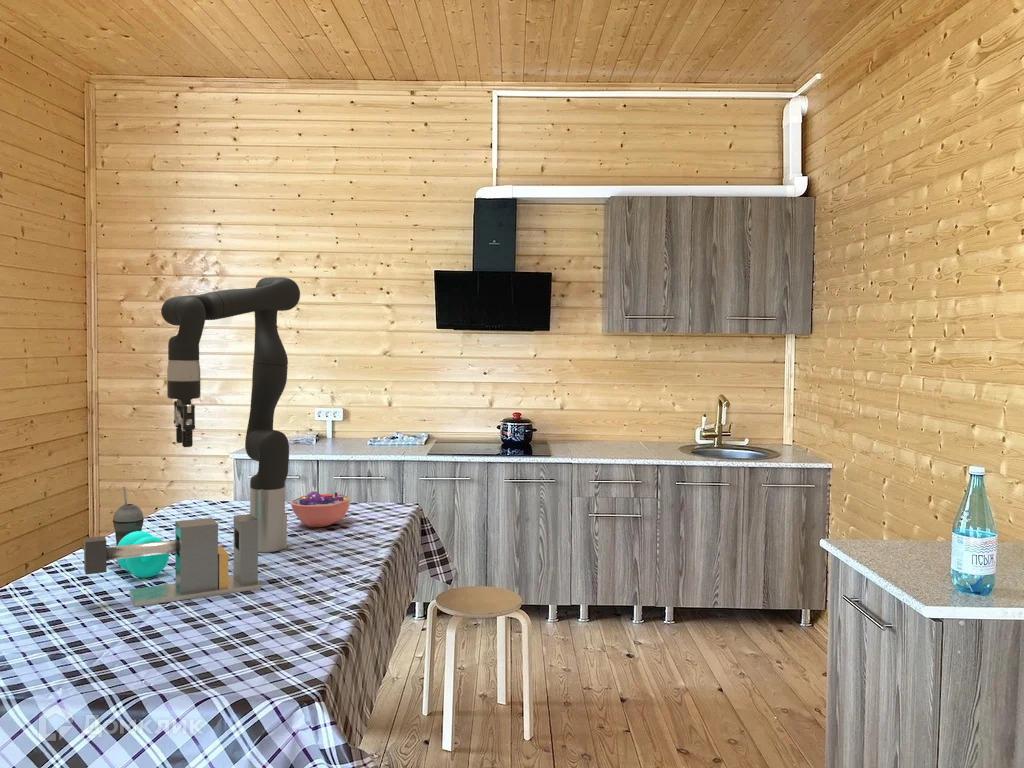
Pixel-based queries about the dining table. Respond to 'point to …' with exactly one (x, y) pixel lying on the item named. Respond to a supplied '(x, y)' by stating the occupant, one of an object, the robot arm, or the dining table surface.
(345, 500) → the cell model
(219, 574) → the spacer
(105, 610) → the dining table surface
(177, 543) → the shaft
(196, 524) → the pillow blocks
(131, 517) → the beverage cup
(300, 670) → the dining table surface
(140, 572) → the donuts
